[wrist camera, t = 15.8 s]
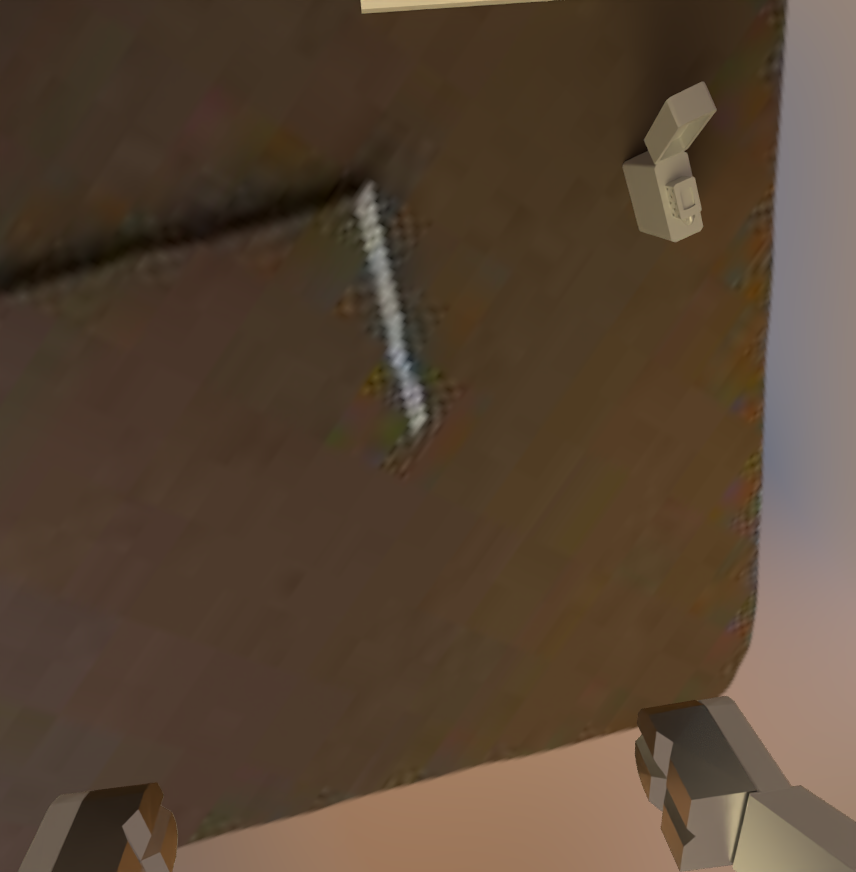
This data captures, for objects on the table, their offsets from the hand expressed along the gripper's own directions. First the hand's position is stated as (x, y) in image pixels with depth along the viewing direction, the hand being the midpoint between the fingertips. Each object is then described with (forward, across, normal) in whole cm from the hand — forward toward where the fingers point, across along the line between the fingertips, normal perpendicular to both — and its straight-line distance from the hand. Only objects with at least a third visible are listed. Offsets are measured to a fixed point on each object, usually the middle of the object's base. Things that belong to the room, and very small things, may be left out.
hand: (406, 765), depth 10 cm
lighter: (+29, -16, -7) cm, 34 cm away
